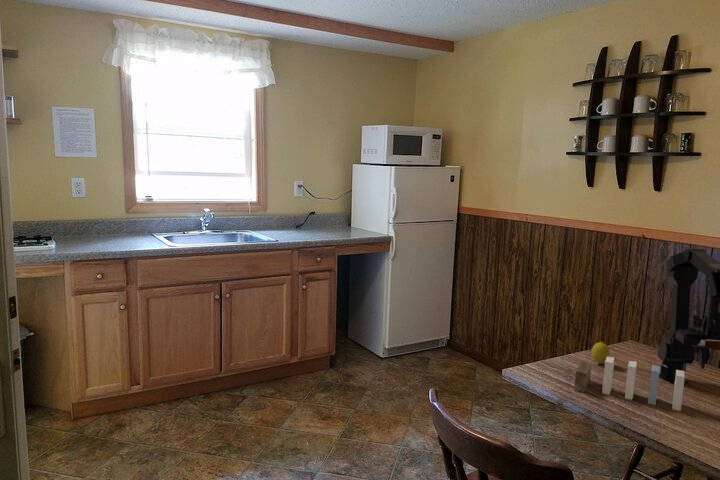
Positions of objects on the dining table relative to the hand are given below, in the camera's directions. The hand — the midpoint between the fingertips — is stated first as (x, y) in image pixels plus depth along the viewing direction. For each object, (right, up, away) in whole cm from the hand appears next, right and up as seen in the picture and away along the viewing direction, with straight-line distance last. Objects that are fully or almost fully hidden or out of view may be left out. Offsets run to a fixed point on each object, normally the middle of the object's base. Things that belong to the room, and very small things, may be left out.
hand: (713, 369), depth 140 cm
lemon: (-14, -8, +36) cm, 40 cm away
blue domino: (-12, -12, +9) cm, 19 cm away
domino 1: (-22, -11, +15) cm, 29 cm away
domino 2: (-17, -11, +12) cm, 23 cm away
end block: (-28, -10, +19) cm, 35 cm away
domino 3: (-7, -12, +6) cm, 15 cm away
